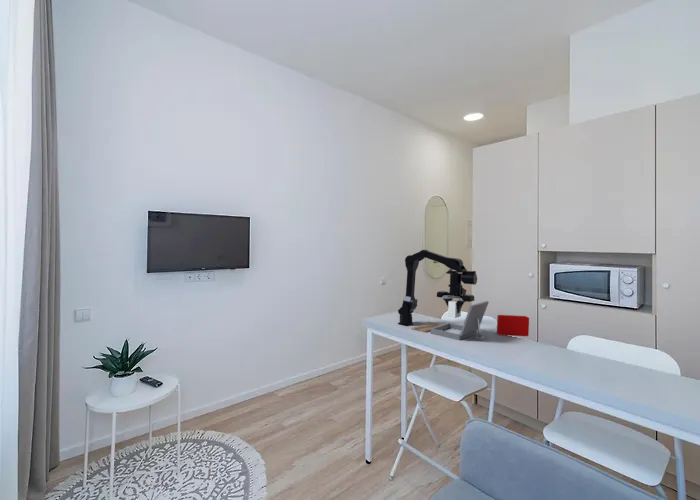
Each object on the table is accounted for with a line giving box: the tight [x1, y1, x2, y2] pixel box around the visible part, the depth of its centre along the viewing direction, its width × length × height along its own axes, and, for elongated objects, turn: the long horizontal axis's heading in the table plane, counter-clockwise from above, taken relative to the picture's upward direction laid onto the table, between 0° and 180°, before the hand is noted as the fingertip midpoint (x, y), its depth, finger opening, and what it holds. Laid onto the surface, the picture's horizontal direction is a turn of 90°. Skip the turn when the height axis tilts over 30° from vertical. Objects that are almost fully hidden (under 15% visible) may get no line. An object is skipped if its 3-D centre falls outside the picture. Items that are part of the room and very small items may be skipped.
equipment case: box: [430, 319, 485, 341], centre depth 177 cm, size 24×19×10 cm
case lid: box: [459, 300, 490, 336], centre depth 172 cm, size 16×19×1 cm
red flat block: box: [496, 314, 530, 337], centre depth 180 cm, size 15×3×10 cm, turn 84°
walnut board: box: [411, 322, 442, 333], centre depth 191 cm, size 9×20×1 cm, turn 136°
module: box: [447, 299, 462, 319], centre depth 180 cm, size 4×6×8 cm
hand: (454, 312), depth 180 cm, fingers closed on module, 4 cm apart
